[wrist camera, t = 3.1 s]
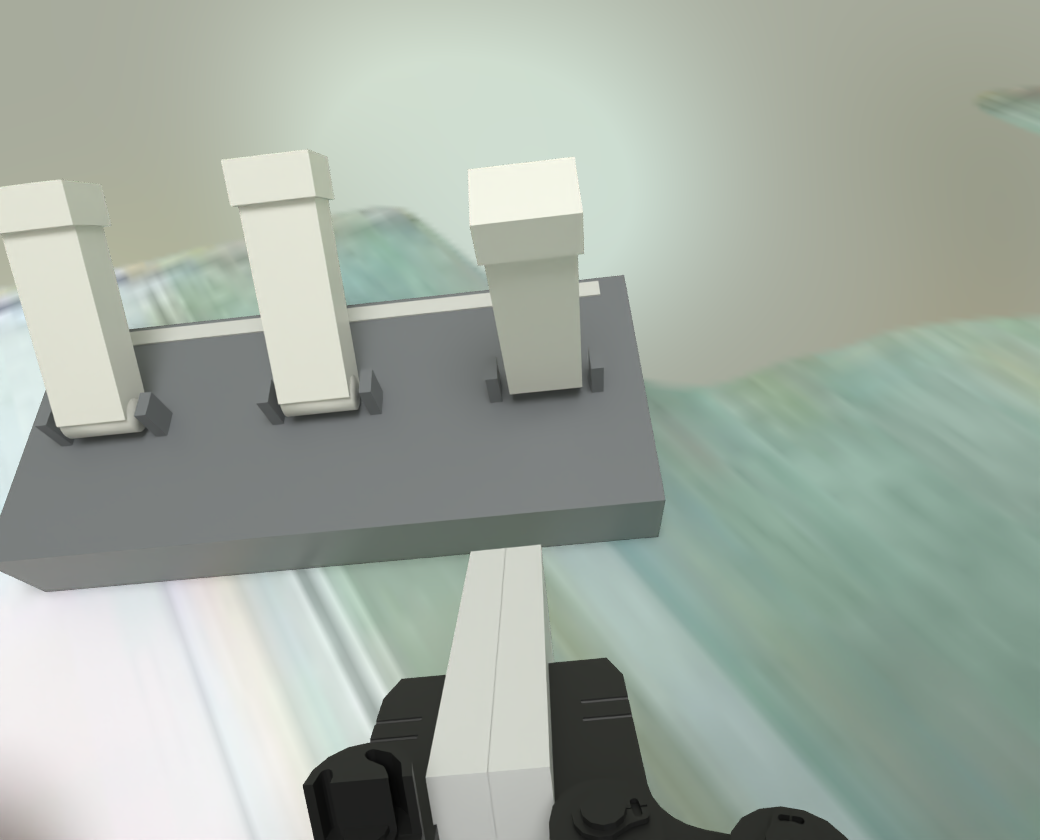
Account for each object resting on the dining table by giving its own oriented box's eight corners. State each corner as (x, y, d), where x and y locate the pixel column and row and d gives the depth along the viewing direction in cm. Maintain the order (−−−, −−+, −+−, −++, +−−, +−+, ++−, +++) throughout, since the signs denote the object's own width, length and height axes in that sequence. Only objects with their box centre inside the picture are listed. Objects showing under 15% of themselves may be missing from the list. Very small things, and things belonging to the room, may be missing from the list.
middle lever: (354, 416, 34) (307, 149, 31) (275, 424, 34) (220, 159, 31) (368, 402, 37) (327, 157, 34) (295, 409, 37) (247, 166, 34)
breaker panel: (658, 536, 36) (669, 479, 30) (45, 591, 38) (-52, 548, 32) (621, 325, 43) (625, 248, 38) (110, 379, 45) (40, 313, 39)
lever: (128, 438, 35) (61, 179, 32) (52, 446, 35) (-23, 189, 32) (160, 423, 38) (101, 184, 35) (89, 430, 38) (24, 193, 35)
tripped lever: (587, 403, 35) (582, 212, 24) (508, 411, 35) (469, 225, 24) (581, 355, 36) (574, 156, 26) (505, 363, 37) (467, 169, 26)
